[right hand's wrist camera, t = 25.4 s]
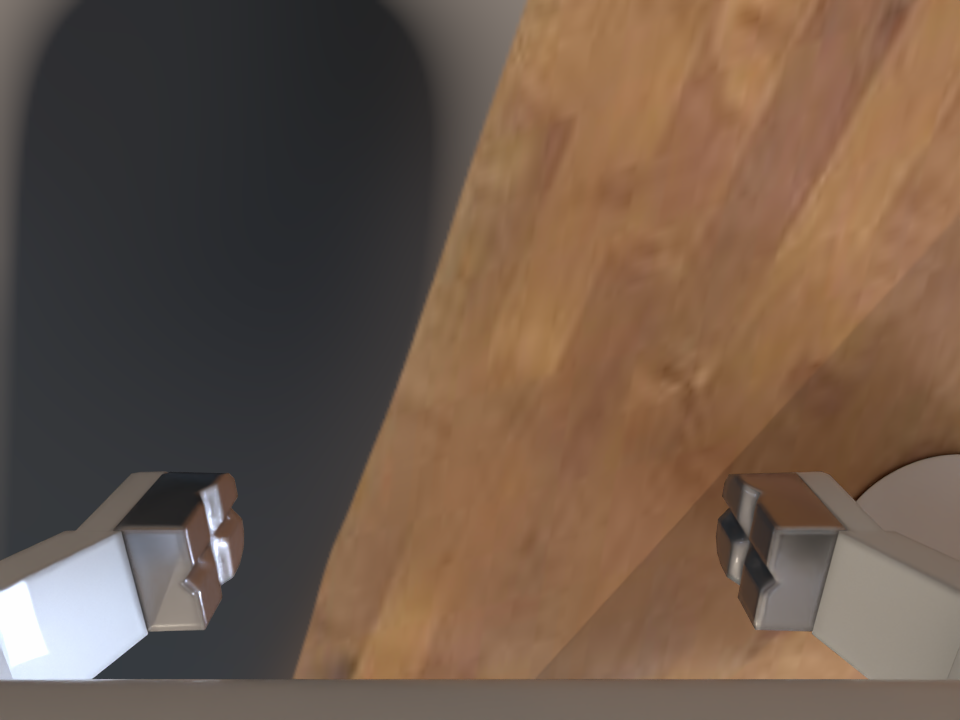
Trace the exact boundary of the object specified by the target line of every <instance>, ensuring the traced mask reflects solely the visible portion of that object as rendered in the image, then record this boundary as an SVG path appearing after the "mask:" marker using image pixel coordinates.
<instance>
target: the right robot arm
mask: <svg viewBox="0 0 960 720" xmlns="http://www.w3.org/2000/svg"><path fill="white" fill-rule="evenodd" d="M237 497H238V495H237V490H236V485H235V481H234V478H233V477H232V476H231V475H230V474H229V473H193V472H169V473H167V472H138V473H133V474H131V475H130V476H129V477H128V478H127V479H126V480H125V481H124V482H123V483H122V484H121V485H120V486H119V487H118V488H117V489H116V490H115V491H114V492H113V493H112V494H111V495H110V496H109V497H108V498H107V499H106V500H105V502H103V503H102V504H101V506H100V507H99V508H98V509H97V510H96V511H95V512H94V513H93V514H92V515H91V516H90V517H89V518H88V519H87V520H86V521H85V522H84V523H83V524H82V525H81V526H80V527H79V528H78V529H77V530H76V531H64V532H62V533H60V534H58V535H56V536H53V537H51V538H49V539H47V540H45V541H42V542H40V543H38V544H36V545H34V546H31V547H29V548H27V549H25V550H23V551H20V552H18V553H16V554H14V555H12V556H10V557H7V558H5V559H3V560H1V561H0V720H960V454H953V455H942V456H936V457H931V458H927V459H923V460H920V461H917V462H914V463H911V464H909V465H906V466H904V467H902V468H900V469H898V470H896V471H894V472H892V473H890V474H888V475H887V476H885V477H884V478H882V479H881V480H879V481H878V482H876V483H875V484H874V485H873V486H871V487H870V488H869V489H868V490H867V491H866V492H865V493H864V494H863V495H861V496H860V498H859V499H858V500H857V501H855V500H854V499H853V498H852V497H851V496H850V495H849V494H848V493H847V492H846V491H845V490H844V489H843V488H842V487H841V486H840V485H839V484H838V483H837V482H836V481H835V480H834V479H833V478H832V477H831V476H830V475H829V474H827V473H824V472H822V471H818V472H791V473H758V474H729V475H728V477H727V479H726V481H725V484H724V489H723V494H722V497H723V498H724V500H725V501H726V503H727V505H728V506H729V509H728V510H727V511H726V512H725V513H724V514H723V515H722V516H721V517H720V518H719V519H718V524H717V532H716V543H717V554H718V557H719V560H720V564H721V566H722V568H723V570H724V572H725V574H726V576H727V577H728V578H729V579H731V580H732V581H734V582H735V583H737V584H738V585H740V588H739V593H738V599H739V601H740V602H741V604H742V606H743V608H744V610H745V612H746V613H747V615H748V617H749V619H750V621H751V623H752V625H753V626H754V628H755V630H782V631H813V632H812V634H813V635H814V636H815V637H817V638H818V639H819V640H820V641H822V642H823V643H824V644H825V645H827V646H828V647H829V648H830V649H832V650H833V651H834V652H835V653H837V654H838V655H839V656H840V657H842V658H843V659H844V660H845V661H847V662H848V663H849V664H850V665H852V666H853V667H854V668H855V669H857V670H858V671H859V672H860V673H862V674H863V675H864V676H865V677H867V678H868V679H92V678H94V677H95V676H96V675H97V674H99V673H100V672H101V671H102V670H103V669H105V668H106V667H107V666H109V665H110V664H111V663H112V662H114V661H115V660H116V659H117V658H119V657H120V656H121V655H122V654H124V653H125V652H126V651H127V650H129V649H130V648H131V647H132V646H134V645H135V644H136V643H137V642H139V641H140V640H141V639H143V638H144V637H145V636H146V635H147V634H148V632H147V631H177V630H205V628H206V626H207V625H208V623H209V621H210V619H211V617H212V615H213V614H214V612H215V610H216V608H217V606H218V604H219V602H220V600H221V599H222V593H221V588H220V585H222V584H223V583H225V582H226V581H228V580H229V579H231V578H232V577H233V576H234V574H235V572H236V570H237V568H238V566H239V564H240V560H241V556H242V551H243V547H244V530H243V524H242V519H241V518H240V517H239V516H238V515H237V514H236V513H235V512H234V511H233V510H232V509H231V506H232V505H233V503H234V501H235V500H236V498H237Z"/></svg>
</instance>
